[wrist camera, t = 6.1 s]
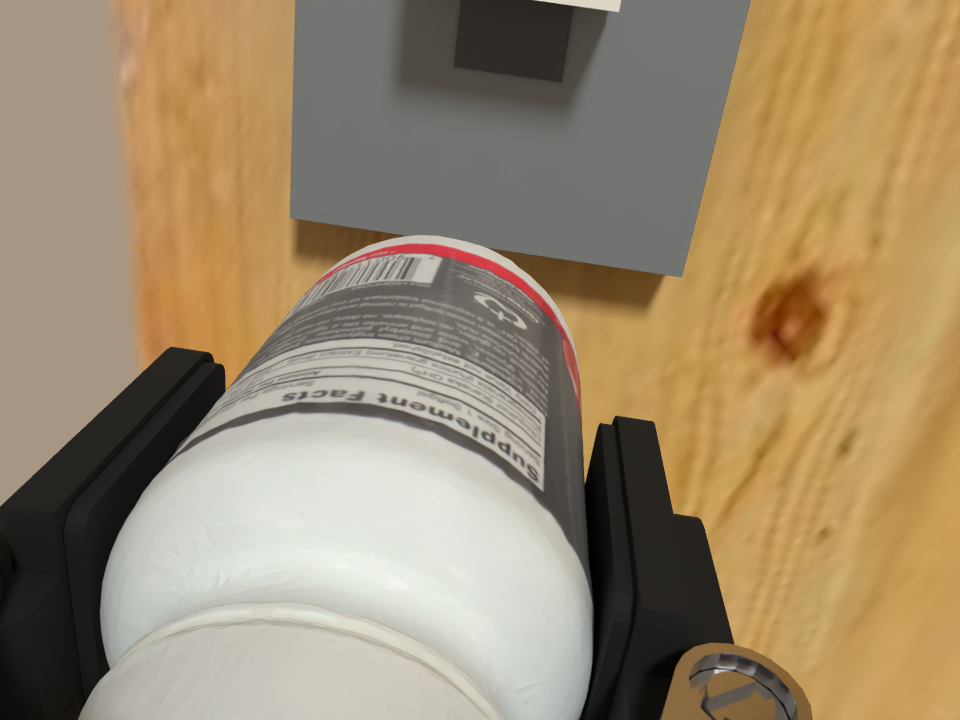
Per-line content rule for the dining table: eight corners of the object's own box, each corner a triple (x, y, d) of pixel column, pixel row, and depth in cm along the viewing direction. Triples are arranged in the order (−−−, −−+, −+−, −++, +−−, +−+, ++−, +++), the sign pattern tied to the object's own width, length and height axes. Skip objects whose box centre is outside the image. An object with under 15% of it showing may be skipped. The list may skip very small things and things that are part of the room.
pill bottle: (532, 519, 16) (499, 1167, 7) (273, 449, 16) (-79, 1026, 7) (622, 275, 14) (731, 799, 5) (318, 189, 14) (-119, 574, 5)
